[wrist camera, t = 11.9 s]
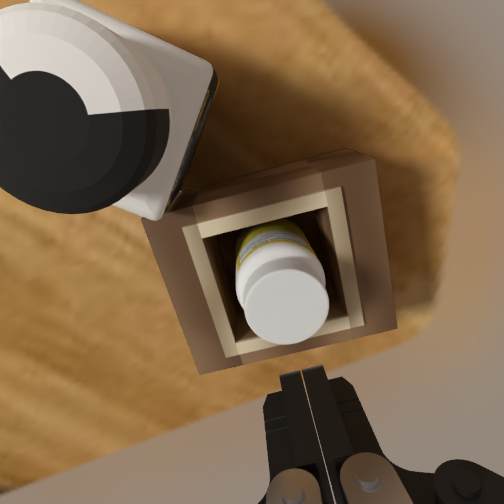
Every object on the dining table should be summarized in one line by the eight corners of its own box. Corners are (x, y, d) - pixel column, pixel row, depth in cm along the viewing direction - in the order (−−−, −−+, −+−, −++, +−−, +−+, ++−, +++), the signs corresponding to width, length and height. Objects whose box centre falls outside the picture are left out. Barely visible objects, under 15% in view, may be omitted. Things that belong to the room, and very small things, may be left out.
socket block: (205, 329, 27) (199, 377, 22) (159, 197, 24) (139, 220, 19) (369, 289, 27) (398, 330, 22) (347, 148, 23) (376, 159, 18)
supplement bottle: (295, 284, 26) (321, 360, 18) (229, 272, 26) (226, 345, 18) (314, 219, 25) (350, 272, 17) (243, 205, 24) (247, 253, 16)
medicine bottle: (180, 192, 24) (130, 268, 13) (66, 146, 23) (-102, 185, 11) (222, 77, 22) (206, 45, 10) (98, 20, 20) (-74, -88, 9)
